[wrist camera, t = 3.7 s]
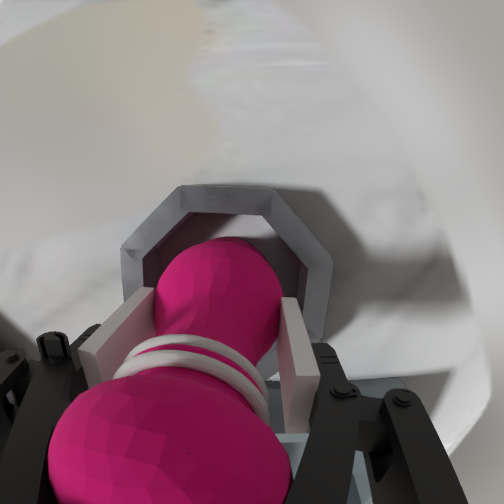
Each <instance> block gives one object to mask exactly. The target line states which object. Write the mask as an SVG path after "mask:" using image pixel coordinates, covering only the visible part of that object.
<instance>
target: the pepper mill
mask: <svg viewBox="0 0 504 504" xmlns="http://www.w3.org/2000/svg"><path fill="white" fill-rule="evenodd" d="M281 297H283V292H282V288H281V284H280V282H279V279H278V277H277V275H276V274H275V272H274V271H273V269H272V268H271V266H270V265H269V264H268V263H267V261H266V260H265V258H264V256H263V255H262V254H261V253H260V252H259V251H258V250H257V249H256V248H255V247H254V246H252V245H251V244H249V243H247V242H245V241H243V240H240V239H237V238H230V237H219V238H214V239H210V240H208V241H206V242H204V243H200V244H197V245H195V246H192V247H190V248H188V249H186V250H184V251H183V252H181V253H180V254H179V255H178V256H176V257H175V258H174V259H173V260H172V262H171V263H170V264H169V265H168V267H167V268H166V270H165V271H164V273H163V274H162V276H161V278H160V279H159V282H158V285H157V287H156V290H155V297H154V302H153V316H154V323H155V328H156V335H155V337H154V338H151V339H148V340H146V341H144V342H142V343H141V344H139V345H138V346H136V347H135V348H134V349H133V350H132V351H131V352H130V353H129V354H128V356H127V357H126V358H125V360H124V363H123V364H122V365H121V366H120V368H119V369H118V370H117V372H116V373H115V374H114V377H113V379H112V380H109V381H105V382H101V383H99V384H98V385H96V386H94V387H92V388H90V389H89V390H87V391H85V392H83V393H81V394H79V395H78V396H77V398H76V399H75V400H74V401H73V402H72V403H71V404H70V405H69V406H68V408H67V409H66V410H65V412H64V413H63V415H62V416H61V418H60V420H59V421H58V423H57V425H56V427H55V430H54V432H53V435H52V438H51V441H50V445H49V450H48V475H49V480H50V483H51V486H52V489H53V492H54V494H55V497H56V499H57V502H58V504H285V502H286V499H287V497H288V494H289V491H290V489H291V486H292V483H293V473H292V468H291V464H290V459H289V455H288V454H287V452H286V450H285V449H284V447H283V446H282V444H281V443H280V441H279V439H278V438H277V436H276V435H275V433H274V432H273V430H272V429H271V428H270V427H269V424H270V415H269V410H268V406H269V395H268V390H267V387H266V384H265V382H264V380H263V378H262V376H261V375H260V373H259V372H258V370H257V369H256V366H257V363H258V361H259V360H260V359H261V358H262V357H263V356H264V355H265V354H266V353H267V352H268V351H269V350H270V349H271V347H272V345H273V344H274V342H275V340H276V338H277V336H278V331H279V321H280V303H281Z"/></svg>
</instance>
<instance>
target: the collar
mask: <svg viewBox="0 0 504 504" xmlns="http://www.w3.org/2000/svg"><path fill="white" fill-rule="evenodd" d="M194 212H205V213H226V214H245V215H262V216H263V218H264V219H265V220H266V221H267V222H268V223H269V224H270V225H271V227H272V228H273V229H274V230H275V231H276V232H277V233H278V235H279V236H280V237H281V238H282V239H283V240H284V241H285V243H286V244H287V245H288V246H289V247H290V248H291V249H292V251H293V252H294V253H295V254H296V255H297V256H298V257H299V259H300V260H301V263H300V272H299V282H298V291H297V302H298V305H299V308H300V312H301V315H302V318H303V321H304V324H305V327H306V330H307V334H308V337H309V340H310V343H319V342H320V339H322V336H323V331H324V325H325V319H326V313H327V306H328V300H329V293H330V286H331V279H332V272H333V264H334V261H333V260H332V259H333V258H332V257H331V256H330V254H329V253H328V252H327V251H326V250H325V248H324V247H323V246H322V245H321V243H320V242H319V241H318V240H317V239H316V237H315V236H314V235H313V234H312V233H311V231H310V230H309V229H308V228H307V227H306V225H305V224H304V223H303V222H302V221H301V220H300V218H299V217H298V216H297V215H296V214H295V213H294V211H293V210H292V209H291V208H290V207H289V206H288V204H287V203H286V202H285V201H284V200H283V199H282V198H281V196H280V195H279V194H278V193H277V192H276V191H275V190H273V189H270V188H253V187H235V186H210V185H181V186H178V187H177V188H176V189H175V190H174V191H173V192H172V193H171V194H170V195H169V196H168V197H167V198H166V199H165V200H164V201H163V202H162V203H161V204H160V205H159V206H158V207H157V208H156V209H155V210H154V211H153V212H152V213H151V214H150V215H149V216H148V218H147V219H146V220H145V221H144V222H143V223H142V224H141V225H140V226H139V227H138V228H137V229H136V230H135V231H134V233H133V234H132V235H131V236H130V237H129V238H128V239H127V240H126V241H125V242H124V244H123V245H122V248H120V251H121V270H122V284H123V296H124V302H125V301H126V300H127V299H128V298H129V297H131V296H132V295H133V294H134V293H135V292H136V291H137V290H138V289H139V288H140V287H149V288H154V296H155V290H156V287H157V285H158V255H157V248H158V247H159V246H160V245H161V244H162V243H163V242H164V241H165V240H166V239H167V238H168V237H169V236H170V235H171V234H172V233H173V232H174V231H175V230H176V229H177V228H178V227H179V226H180V225H181V224H182V223H183V222H184V221H185V220H186V219H187V218H188V217H189V216H190V215H191V214H192V213H194ZM276 342H277V338H276V340H275V342H274V344H273V345H272V347H271V349H270V350H269V351H268V352H267V353H266V354H265V355H264V356H263V357H262V358H261V359H260V360H259V361H258V363H257V366H256V369H257V370H258V372H259V373H260V375H261V376H262V378H263V380H264V381H265V380H267V379H268V378H270V377H271V376H273V375H274V374H276V373H277V372H278V371H279V365H278V355H277V346H276Z"/></svg>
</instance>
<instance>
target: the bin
mask: <svg viewBox="0 0 504 504" xmlns="http://www.w3.org/2000/svg"><path fill="white" fill-rule="evenodd" d="M264 382H265V384H266V387H267V390H268V395H269V406H268V410H269V415H270V424H269V427H270V428H271V429H272V430H273V432H274V433H275V435H276V436H277V438H278V439H279V441H280V443H281V444H282V446H283V447H284V449H285V450H286V452H287V454H288V455H289V459H290V464H291V468H292V473H293V481H294V478H295V475H296V472H297V469H298V466H299V464H300V461H301V458H302V455H303V452H304V448H305V445H306V442H307V439H308V436H309V433H310V426H308V429H307V433H285V423H284V413H283V403H282V393H281V384H280V382H274V381H264ZM348 382H350V383H352V384H354V385H356V386H357V387H358V388H359V390H360V392H361V395H364V396H368V397H375V398H382V399H383V398H384V396H385V394H386V392H387V391H389V390H391V389H395V388H403V389H407V388H406V386H405V385H404V383H403V382H402V380H401V379H400V377H394V378H383V379H370V380H355V381H348ZM372 503H373V502H372V496H371V491H370V486H369V481H368V475H367V471H366V466H365V461H364V456H363V452H362V451H355V458H354V464H353V471H352V477H351V483H350V489H349V494H348V499H347V504H372Z"/></svg>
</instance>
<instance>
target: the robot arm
mask: <svg viewBox="0 0 504 504" xmlns="http://www.w3.org/2000/svg"><path fill="white" fill-rule="evenodd" d="M154 297H155V296H154V288H149V287H140V288H139V289H138V290H137V291H136V292H135V293H134V294H133V295H132V296H131V297H129V298H128V299H127V300H126V301H125V302H124V303H123V304H122V305H121V306H120V307H119V308H118V309H117V310H116V311H115V312H114V313H113V314H112V315H111V316H110V317H109V318H108V319H107V320H106V321H105V322H104V323H103V324H102V325H101V324H96V325H93V326H91V327H89V328H88V329H87V330H86V331H84V332H83V333H82V335H80V336H79V337H78V339H76V340H75V341H74V342H73V343H72V344H71V345H69V341H68V337H67V336H66V334H64V333H62V332H56V331H55V332H48V333H44V334H42V335H40V336H39V337H38V338H37V339H36V341H37V344H38V348H39V352H40V355H41V358H42V359H41V361H31V360H28V359H27V356H26V353H25V352H24V350H21V349H18V348H10V349H8V350H5V351H4V352H2V353H1V354H0V504H58V502H57V499H56V497H55V494H54V492H53V489H52V486H51V483H50V480H49V475H48V450H49V445H50V441H51V438H52V435H53V432H54V430H55V427H56V425H57V423H58V421H59V420H60V418H61V416H62V415H63V413H64V412H65V410H66V409H67V408H68V406H69V405H70V404H71V403H72V402H73V401H74V400H75V399H76V398H77V396H78V395H79V394H81V393H83V392H85V391H87V390H89V389H90V388H92V387H94V386H96V385H98V384H99V383H101V382H105V381H109V380H112V379H113V377H114V374H115V373H116V372H117V370H118V369H119V368H120V366H121V365H122V364H123V363H124V360H125V358H126V357H127V356H128V354H129V353H130V352H131V351H132V350H133V349H134V348H135V347H136V346H138V345H139V344H141V343H142V342H144V341H146V340H148V339H151V338H154V337H155V335H156V328H155V323H154V316H153V302H154ZM276 346H277V355H278V365H279V374H280V384H281V393H282V403H283V413H284V423H285V433H307V429H308V426H310V433H309V436H308V439H307V442H306V445H305V448H304V452H303V455H302V458H301V461H300V464H299V466H298V469H297V472H296V475H295V478H294V481H293V483H292V486H291V489H290V491H289V494H288V497H287V499H286V502H285V504H347V499H348V494H349V489H350V483H351V477H352V471H353V464H354V458H355V451H362V452H363V456H364V461H365V466H366V471H367V475H368V481H369V486H370V491H371V496H372V502H373V504H468V502H467V499H466V497H465V494H464V492H463V489H462V487H461V485H460V482H459V480H458V477H457V475H456V473H455V471H454V468H453V466H452V464H451V462H450V459H449V457H448V455H447V453H446V451H445V449H444V446H443V444H442V442H441V440H440V438H439V436H438V434H437V432H436V430H435V428H434V426H433V424H432V422H431V420H430V418H429V416H428V414H427V412H426V410H425V408H424V406H423V404H422V402H421V400H420V398H419V397H418V396H417V395H416V394H415V393H413V392H412V391H410V390H407V389H403V388H395V389H391V390H389V391H387V392H386V394H385V396H384V398H383V399H382V398H375V397H368V396H364V395H361V392H360V390H359V388H358V387H357V386H356V385H354V384H352V383H350V382H348V380H347V378H346V376H345V373H344V371H343V369H342V366H341V364H340V361H339V359H338V358H337V354H336V352H335V350H334V349H333V348H332V347H331V346H330V345H329V344H327V343H310V340H309V337H308V334H307V330H306V327H305V324H304V321H303V318H302V315H301V312H300V308H299V305H298V302H297V299H296V298H290V297H281V303H280V321H279V331H278V336H277V342H276ZM9 391H10V392H11V394H12V396H13V399H14V400H13V401H12V402H11V403H10V402H9V400H8V398H7V396H6V395H7V394H8V392H9Z"/></svg>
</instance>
